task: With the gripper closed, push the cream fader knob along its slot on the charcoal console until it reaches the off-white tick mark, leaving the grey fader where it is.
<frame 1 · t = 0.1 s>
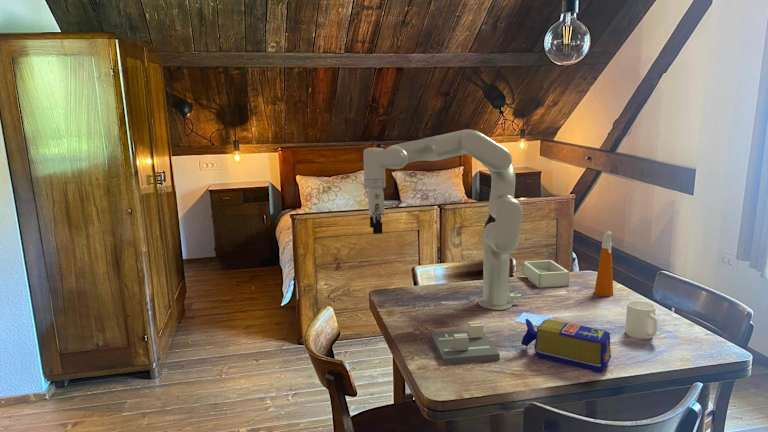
hand: (376, 230, 192), 31 cm above the table, fingers open, 9 cm apart
console: (463, 348, 167), on the table
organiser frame: (544, 279, 230), on the table
bread: (565, 359, 159), on the table
spray bottle: (604, 295, 210), on the table
medication box: (544, 280, 230), resting in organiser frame
fader b: (460, 341, 162), point 4 cm above the table, slide at 0.0 cm
cola bottle: (492, 271, 243), on the table
cup: (642, 337, 172), on the table
fader a: (475, 329, 170), point 4 cm above the table, slide at 0.0 cm
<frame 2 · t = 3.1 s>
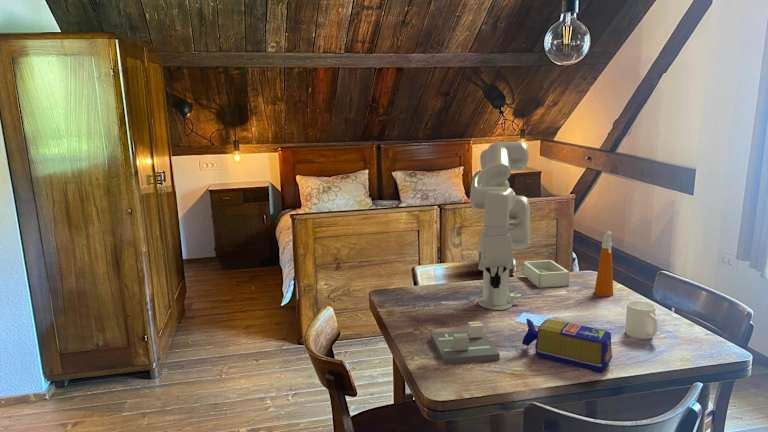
hand: (495, 287, 169), 18 cm above the table, fingers closed
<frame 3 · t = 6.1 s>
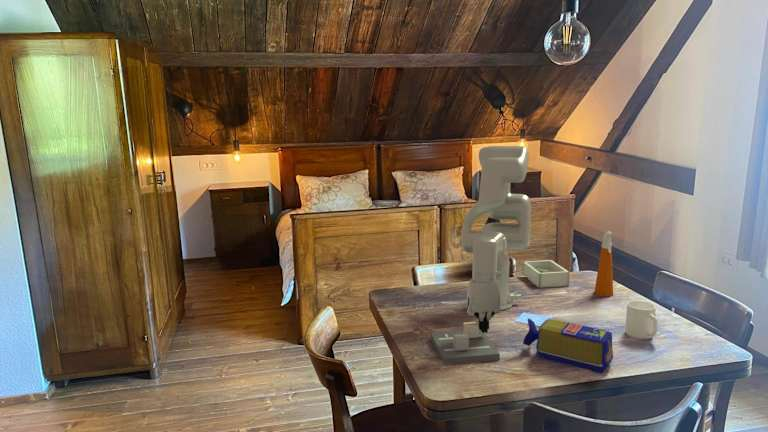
hand: (483, 331, 170), 4 cm above the table, fingers closed
fader a: (470, 329, 170), point 4 cm above the table, slide at 1.6 cm, touching gripper
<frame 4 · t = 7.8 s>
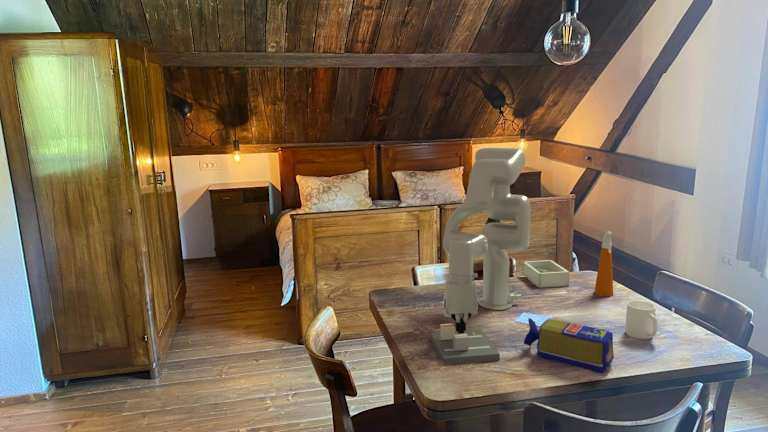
hand: (460, 332, 170), 4 cm above the table, fingers closed
fader a: (447, 331, 169), point 4 cm above the table, slide at 9.1 cm, touching gripper
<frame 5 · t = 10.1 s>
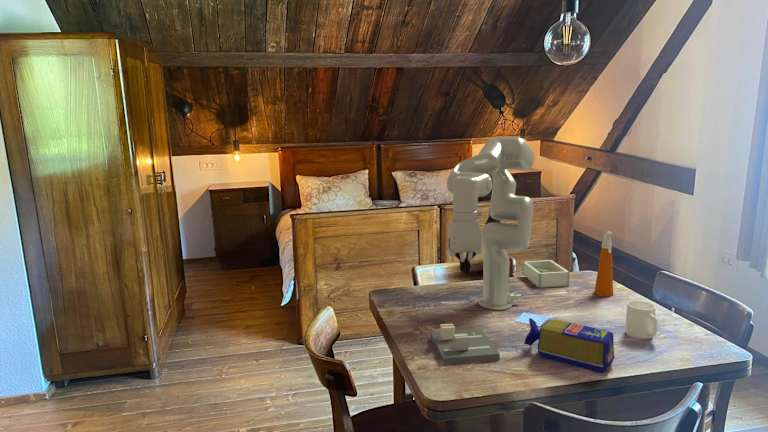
hand: (464, 272, 169), 23 cm above the table, fingers closed
fader a: (447, 331, 169), point 4 cm above the table, slide at 9.2 cm
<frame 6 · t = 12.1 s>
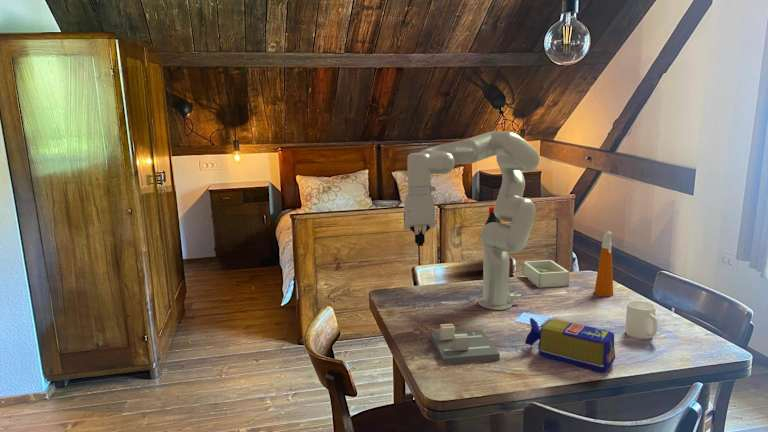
hand: (419, 245, 178), 29 cm above the table, fingers closed
at the end: fader a slide at 9.2 cm; fader b slide at 0.0 cm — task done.
